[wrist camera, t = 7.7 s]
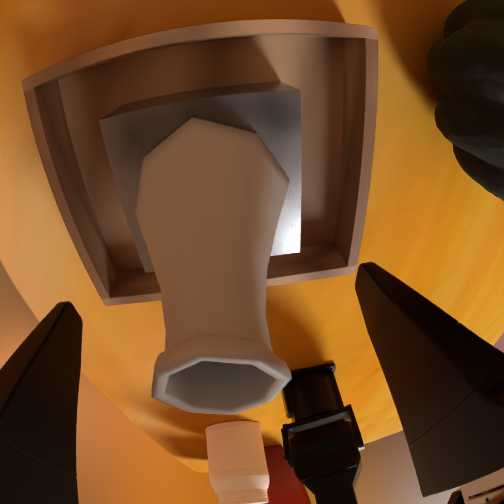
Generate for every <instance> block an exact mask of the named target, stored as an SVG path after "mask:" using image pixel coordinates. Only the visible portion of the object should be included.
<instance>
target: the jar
mask: <svg viewBox="0 0 504 504" xmlns="http://www.w3.org/2000/svg"><path fill="white" fill-rule="evenodd" d="M205 432H206V440H207V453H208V465H209V480H210V484H211V487H212V488H213V490H214V491H215V492H216V493H217V495H218V500H219V504H264V503H268V502H269V501H268V495H267V489H268V487H269V473H268V469H267V464H266V458H265V452H264V446H263V440H262V434H261V425H260V423H259V422H253V421H230V422H223V423H218V424H214V425H211V426H209V427H207V428H205Z"/></svg>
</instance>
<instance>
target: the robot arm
mask: <svg viewBox="0 0 504 504" xmlns="http://www.w3.org/2000/svg"><path fill="white" fill-rule="evenodd" d="M355 290H356V293H357V297H358V300H359V303H360V307H361V310H362V314H363V317H364V321H365V324H366V328H367V331H368V334H369V336H370V339H371V342H372V344H373V347H374V349H375V352H376V354H377V357H378V359H379V362H380V365H381V367H382V370H383V373H384V375H385V378H386V381H387V383H388V386H389V389H390V392H391V395H392V397H393V400H394V403H395V406H396V409H397V412H398V415H399V418H400V421H401V424H402V427H403V430H404V433H405V436H406V440H407V442H408V444H409V445H408V446H409V450H410V453H411V456H412V460H413V463H414V467H415V470H416V474H417V477H418V481H419V485H420V489H421V493H422V496H423V497H426V496H429V495H433V494H437V493H440V492H443V491H446V490H449V489H452V488H455V487H458V486H460V489H458V490H456V491H455V492H453V493H452V495H451V497H450V499H449V501H448V504H504V353H503V352H501V351H500V350H498V349H497V348H495V347H494V346H492V345H491V344H489V343H488V342H486V341H485V340H483V339H482V338H480V337H479V336H477V335H476V334H475V333H473V332H472V331H470V330H469V329H468V328H466V327H465V326H464V325H462V324H461V323H459V322H458V321H457V320H456V319H454V318H453V317H451V316H450V315H449V314H447V313H446V312H445V311H443V310H442V309H440V308H439V307H438V306H436V305H435V304H434V303H432V302H431V301H429V300H428V299H426V298H425V297H424V296H422V295H421V294H419V293H418V292H417V291H415V290H414V289H412V288H411V287H409V286H408V285H406V284H405V283H403V282H402V281H401V280H399V279H398V278H396V277H395V276H393V275H392V274H390V273H389V272H387V271H386V270H384V269H383V268H381V267H380V266H378V265H377V264H375V263H373V262H367V263H362V264H360V265H359V268H358V272H357V277H356V282H355ZM82 327H83V324H82V319H81V317H80V315H79V314H78V312H77V311H76V309H75V308H74V306H73V304H72V303H71V302H69V301H66V302H59V303H58V304H57V305H56V306H55V307H54V308H53V309H52V310H51V311H50V312H49V313H48V314H47V316H46V317H45V318H44V319H43V320H42V321H41V322H40V323H39V324H38V325H37V327H36V328H35V329H34V330H33V331H32V332H31V333H30V335H29V336H28V337H27V338H26V339H25V340H24V341H23V343H22V344H21V345H20V346H19V347H18V349H17V350H16V351H15V352H14V353H13V355H12V356H11V357H10V358H9V359H8V361H7V362H6V363H5V365H4V366H3V367H2V368H1V369H0V504H79V503H78V489H77V478H76V477H77V473H76V422H77V404H78V403H77V402H78V391H79V380H80V370H81V347H82ZM335 368H336V366H335V364H328V365H324V366H319V367H314V368H309V369H304V370H299V371H293V372H291V378H292V379H291V380H290V381H289V382H288V383H287V384H286V385H285V387H284V388H283V389H282V397H283V402H284V407H285V411H286V416H287V418H292V423H290V424H283V428H282V429H281V432H282V438H283V460H284V461H286V462H288V464H289V466H290V468H291V469H292V470H294V471H295V476H296V477H297V478H298V479H299V480H300V481H301V482H302V483H303V484H304V485H305V486H306V487H307V488H308V489H309V490H310V491H311V492H312V493H313V494H314V495H315V498H316V503H317V504H358V502H357V498H356V494H355V490H354V488H355V486H356V483H357V480H358V477H359V474H360V472H361V469H362V462H361V456H360V453H359V451H361V450H364V444H363V440H362V437H361V433H360V430H359V427H358V424H357V421H356V418H355V416H354V413H353V410H352V407H351V404H349V405H346V407H344V405H343V401H342V398H341V395H340V392H339V389H338V386H337V382H336V379H335V376H334V372H335ZM347 420H350V421H347Z"/></svg>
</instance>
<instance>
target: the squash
mask: <svg viewBox="0 0 504 504" xmlns="http://www.w3.org/2000/svg"><path fill="white" fill-rule="evenodd" d="M444 37H445V40H443V41H441V42H439V43H438V44H436V45H435V46H434V47H433V48H432V49H431V50H430V52H429V54H428V57H427V70H428V72H429V74H430V77H431V79H432V81H433V83H434V84H435V85H436V87H437V88H438V89H439V90H440V91H441V92H442V93H443V94H444V96H442V97H441V99H440V100H439V102H438V104H437V106H436V109H435V121H436V125H437V127H438V128H439V130H440V131H441V132H442V134H443V135H444V136H445V137H446V139H448V140H449V141H450V142H451V143H453V151H454V154H455V156H456V159H457V161H458V163H459V164H460V166H461V167H462V169H463V170H464V171H465V172H466V173H467V174H468V175H469V176H470V177H471V178H472V179H473V180H475V181H476V182H477V183H479V184H480V185H481V186H483V187H484V188H485V189H486V190H487V191H489V192H490V193H492V194H493V195H495V196H496V197H499V198H501V199H502V200H503V201H504V0H466V1H464V2H463V3H461V4H460V5H459V6H457V7H456V8H455V9H454V10H453V11H452V13H451V14H450V15H449V17H448V18H447V21H446V24H445V29H444Z"/></svg>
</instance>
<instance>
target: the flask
mask: <svg viewBox="0 0 504 504" xmlns="http://www.w3.org/2000/svg"><path fill="white" fill-rule="evenodd" d="M289 182H290V180H289V178H288V177H287V176H286V174H285V173H284V171H283V170H282V168H281V167H280V166H279V164H278V163H277V161H276V160H275V159H274V157H273V156H272V154H271V153H270V152H269V150H268V149H267V148H266V146H265V145H264V143H263V142H262V141H261V139H260V138H259V137H258V135H257V134H255V133H252V132H248V131H245V130H241V129H237V128H234V127H230V126H226V125H222V124H218V123H214V122H210V121H206V120H201V119H197V118H191V119H190V120H189V121H187V122H186V123H185V124H184V125H182V126H181V127H180V128H179V129H177V130H176V131H175V132H174V133H172V134H171V135H170V136H169V137H167V138H166V139H165V140H164V141H163V142H161V143H160V144H159V145H158V146H157V147H156V148H154V149H153V150H152V151H151V152H150V153H149V154H147V155H146V156H145V157H144V158H143V164H142V169H141V175H140V181H139V187H138V194H137V201H136V208H135V213H136V217H137V221H138V223H139V226H140V229H141V232H142V234H143V237H144V240H145V243H146V245H147V248H148V252H149V255H150V258H151V261H152V264H153V267H154V271H155V274H156V277H157V280H158V283H159V286H160V289H161V297H162V306H163V314H164V321H165V328H166V339H165V351H164V352H162V353H160V354H159V355H158V357H157V360H156V362H155V366H154V374H153V382H152V398H155V399H157V400H159V401H162V402H164V403H166V404H169V405H171V406H173V407H176V408H178V409H181V410H183V411H186V412H191V413H205V414H225V415H234V414H237V413H240V412H243V411H246V410H248V409H251V408H254V407H257V406H260V405H262V404H265V403H268V402H270V401H272V400H273V399H274V398H275V397H276V396H277V394H278V393H279V392H280V391H281V390H282V389H283V388H284V387H285V385H286V384H287V383H288V382H289V381H290V380H291V379H292V378H291V371H290V369H289V367H288V365H287V363H286V362H285V361H284V360H282V359H281V358H280V357H278V356H277V355H275V354H274V352H273V350H272V347H271V342H270V336H269V331H268V325H267V320H266V284H267V267H268V263H269V259H270V254H271V250H272V246H273V242H274V238H275V233H276V229H277V225H278V221H279V217H280V214H281V211H282V207H283V204H284V201H285V197H286V194H287V190H288V186H289Z"/></svg>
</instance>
